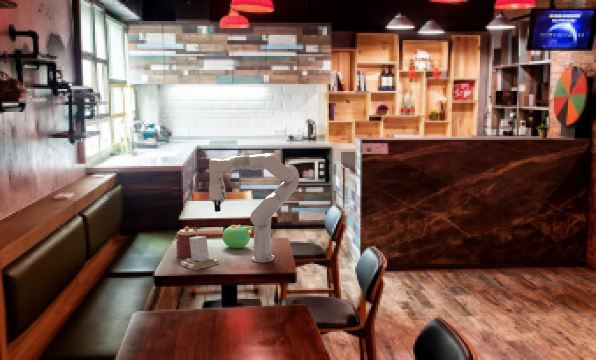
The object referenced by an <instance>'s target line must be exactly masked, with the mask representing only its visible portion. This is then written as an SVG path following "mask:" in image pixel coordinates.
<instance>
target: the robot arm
mask: <svg viewBox="0 0 596 360" xmlns="http://www.w3.org/2000/svg"><path fill="white" fill-rule="evenodd" d="M208 162H209V163H208V166H209V167H208V168H209V169H208V171H209V184H208V185H209V186H208V197H209V199H210V201H211V202H212V203H213V205H214V212H216V213H219V212H221V209H222V208H221V205H222V204H223V203H224V202H225V200H226V199H227V193H226V186H225V182H224V173H230V172H232V171H234V170H243V169H244V170H245V169H248V170H251V171H257V170H265V171H268V173H269V174H271V175H272V176H274V177H275V178H277V179H278V180H279V181H281V183H280V184H279V185H278V186H277V187H276V189H274V191H272V192H271V193H270V194H269V195H268V196H266V197H265V198H264V199H263V200H262V201H261V202H260V203H259V204H258V205H257V206H256V207H255V209H254V210H253V211H252V212H251V214H250V218H249V219H250V221H251V223H252V225H254V228H253V241H254V242H253V246H254V247H253V250H254V251H253V252H254V254H253V256H252V257H251V261H253V262H254V263H269V262H272V261H274V259H275V255H273V253H272V249H271V247H272V246H271V243H272V242H271V239H272V237H271V236H272V235H271V231H272V229H271V228H272V227H271V226H272V216H274V214H275V213H277V212H278V210H279V209H280V208H281V207H282V206H283V205H284V203H285V202H286V201H287V200H288V199H289V198H290V197H291V195H292V194H293V193H294V192H295V191H296V189H297V188H298V185H299V182H300V173H299V171H298V169H297V167H296V166H295V165H292V164H288V165H285V164H284V163H282V162H281V158H280V156H279V155H278V154H277V153H274V152H271V153H269V152H268V153H260V154H251V155H240V156H229V157H227V158H225V159H221V158H211V159H210V160H209V161H208Z"/></svg>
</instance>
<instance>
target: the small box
mask: <svg viewBox="0 0 596 360" xmlns="http://www.w3.org/2000/svg"><path fill="white" fill-rule="evenodd" d="M189 239H190V248H191V256H192V261H203V260H207V259H209V257H210V256H209V250H208V249H209V248H208V240H207V236H199V235H198V236H197V237H192V238H189Z"/></svg>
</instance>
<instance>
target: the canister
mask: <svg viewBox="0 0 596 360" xmlns="http://www.w3.org/2000/svg"><path fill="white" fill-rule="evenodd" d="M197 233H198V232H197V231H196V230H195V229H193V228H190V227H189V226H185V227H184V228H182V229H179V231H177V232H176V234H177V235H176V236H175V238H176V241H175V244H176V247H175V249H176V251H175V253H176V254H175V255H176V257H177V258H179V259H189V258H192V256H191V248H190V239H189V238H192V237H197V236H199V235H198V234H197Z"/></svg>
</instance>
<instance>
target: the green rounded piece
mask: <svg viewBox="0 0 596 360" xmlns="http://www.w3.org/2000/svg"><path fill="white" fill-rule="evenodd" d="M252 229H254V226H253V225H252V226H249V225H248V226H242V225H241V224H238V225H237V224H236V225H235V224H231V225H230V226H228V227H227V228H225V229H224V230H223V233H222V237H221V238H222V241H223V243H224V244H225V245H226V246H227V247H229V248H231V249H242V248H244V247H246V246H247V245H248V244H249V243H250V240H251V235H250V232H249V231H251V230H252Z"/></svg>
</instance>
